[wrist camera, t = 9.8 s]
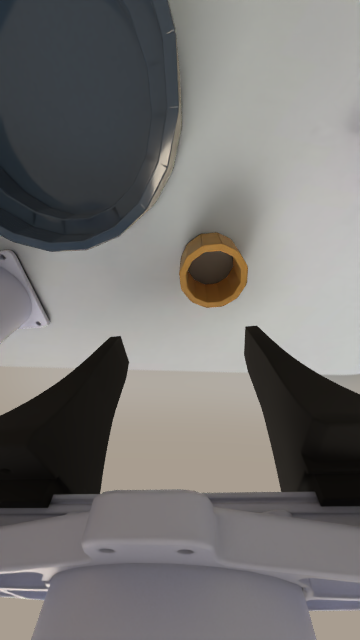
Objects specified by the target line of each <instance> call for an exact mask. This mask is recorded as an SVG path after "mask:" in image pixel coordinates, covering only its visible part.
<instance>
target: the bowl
mask: <svg viewBox="0 0 360 640" xmlns="http://www.w3.org/2000/svg"><path fill="white" fill-rule="evenodd" d="M181 129H182V111H181V86H180V69H179V58H178V48H177V38H176V30H175V26H174V22H173V18H172V14H171V10H170V7H169V3H168V0H0V235H1V236H3V237H5V238H7V239H8V240H10V241H12V242H15V243H19V244H23V245H27V246H31V247H35V248H38V249H42V250H46V251H50V252H59V251H79V250H89V249H91V248H93V247H96V246H98V245H100V244H103V243H105V242H107V241H110V240H112V239H114V238H117V237H119V236H120V235H121V234H123V233H124V232H125V231H126V230H127V229H128V228H130V227H131V226H132V225H133V224H134V223H135V222H136V221H137V220H138V219H139V218H140V217H141V216H142V215H144V214H145V213H146V212H147V211H148V210H149V209H150V208H151V207H152V206H153V205H154V204H155V203H156V202H157V200H158V198H159V196H160V194H161V192H162V190H163V188H164V186H165V184H166V183H167V181H168V179H169V177H170V175H171V173H172V171H173V168H174V163H175V158H176V153H177V149H178V144H179V139H180V134H181Z"/></svg>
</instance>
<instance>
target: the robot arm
mask: <svg viewBox="0 0 360 640" xmlns="http://www.w3.org/2000/svg"><path fill="white" fill-rule="evenodd" d="M2 254H3V255H4V256H5V258H4V257H3V255H2ZM39 322H40V323H39ZM49 323H50V322H49V319H48V317H47V316H46V314H45V312H44V310H43V308H42V306H41V304H40V302H39V300H38V298H37V296H36V294H35V292H34V290H33V288H32V286H31V284H30V282H29V280H28V278H27V276H26V274H25V272H24V270H23V268H22V266H21V264H20V262H19V260H18V258H17V256H16V255H15V253H14V252H13V251H11V250H0V344H1V343H2V342H3V341H4V340H5V339H7V338H8V337H9V336H10V335H11V334H12V333H13V332H14V331H16V330H17V329H23V328H36V327H47V326H48V325H49ZM244 356H245V360H246V365H247V369H248V372H249V375H250V378H251V381H252V383H253V386H254V389H255V391H256V394H257V397H258V400H259V402H260V405H261V408H262V411H263V415H264V418H265V422H266V426H267V430H268V434H269V438H270V442H271V447H272V451H273V455H274V460H275V464H276V468H277V473H278V478H279V483H280V487H281V492H245V493H199V492H196V491H190V490H115V491H107V492H103V493H102V494H100V490H101V482H102V475H103V469H104V462H105V457H106V451H107V446H108V440H109V435H110V430H111V426H112V421H113V417H114V414H115V410H116V407H117V404H118V401H119V398H120V395H121V392H122V389H123V386H124V383H125V380H126V376H127V371H128V365H129V361H128V358H127V355H126V352H125V348H124V345H123V342H122V339H121V336H117V337H110V338H109V339H108V340H107V341H105V342H104V343H103V344H102V345H101V346H100V347H99V348H98V349H97V350H96V351H95V352H94V353H93V354H92V355H91V356H90V357H88V358H87V359H86V360H85V361H84V362H83V363H82V364H80V365H79V366H78V367H77V368H76V369H75V370H73V371H72V372H71V373H70V374H69V375H67V376H66V377H65V378H63V379H62V380H61V381H59V382H58V383H56V384H55V385H53V386H52V387H50V388H49V389H47V390H46V391H44V392H43V393H41V394H39V395H38V396H36V397H35V398H33V399H31V400H30V401H28V402H26V403H24V404H22V405H20V406H19V407H17V408H15V409H13V410H11V411H9V412H7V413H5V414H3V415H1V416H0V597H10V598H22V599H34V600H44V603H43V606H42V609H41V612H40V615H39V618H38V621H37V624H36V627H35V630H34V633H33V636H32V639H31V640H316V636H315V633H314V629H313V625H312V622H311V618H310V614H309V611H340V610H341V611H345V610H360V394H358V393H355V392H353V391H351V390H349V389H347V388H344V387H342V386H340V385H338V384H336V383H334V382H332V381H331V380H329V379H327V378H325V377H323V376H321V375H320V374H318V373H316V372H314V371H313V370H311V369H310V368H308V367H307V366H305V365H303V364H302V363H300V362H299V361H297V360H296V359H295V358H293V357H292V356H291V355H289V354H288V353H287V352H285V351H284V350H283V349H282V348H281V347H280V346H278V345H277V344H276V343H275V342H274V341H273V340H272V339H270V338H269V337H268V336H267V335H266V334H265V333H264V332H263V331H262V330H261V329H260V328H259V327H258V326H248V327H246V329H245V349H244Z"/></svg>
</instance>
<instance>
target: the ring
mask: <svg viewBox="0 0 360 640" xmlns="http://www.w3.org/2000/svg"><path fill="white" fill-rule="evenodd" d="M212 251H222V252H224V253H226V254H228V255H230V256H233V267H232V269H231V271H230V272H229V274H228V276H227V277H226V278H224V279H223V280H221V281H220V282H218V283H215V284H203V283H201V282H198V281H196V280H194V279H193V277H192V276H191V274H190V273H189V272H188V269H189V267H190V265H191V262H192V261H193V260H194V259H196V258H197V257H199V256H200V255H201V254H203V253H204V252H212ZM247 273H248V267H247V264H246V262H245V261H244V259H243V257H242V256H241V254H240V252H239V251H238V249H237V248H236V246H235V244H234V243H233V241H232V240H231V239H230V238H228V237H226V236H224V235H221V234H219V233H216V232H215V233H206V234H201V235H199V236H197V237H196V238H194V239H193V240H192V241H190V242H189V243H188V244H187V245H186V248H185V250H184V252H183V254H182V257H181V263H180V272H179V275H180V284H181V289H182V291H183V292H184V293H185V295H186V296H187V297H188V298H189V300H190V301H192V302H193V303H196V304H198V305H200V306H203V307H206V308H210V307H222V306H224V305H226V304H228V303H230V302H231V301H233V300H235V299H237V297H238V296H239V295H240V293H241V292H242V290H243V289H244V287H245V286H246V283H247Z"/></svg>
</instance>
